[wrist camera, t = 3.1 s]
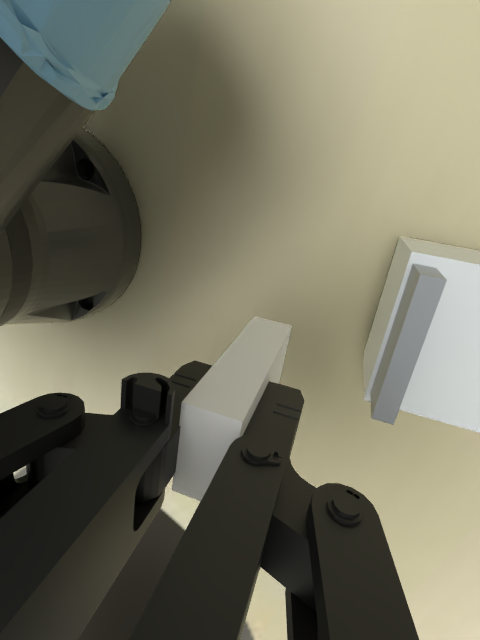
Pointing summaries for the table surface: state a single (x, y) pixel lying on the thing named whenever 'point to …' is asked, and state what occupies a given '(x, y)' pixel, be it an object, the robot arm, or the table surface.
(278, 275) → the table surface
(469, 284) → the white chamfered box
